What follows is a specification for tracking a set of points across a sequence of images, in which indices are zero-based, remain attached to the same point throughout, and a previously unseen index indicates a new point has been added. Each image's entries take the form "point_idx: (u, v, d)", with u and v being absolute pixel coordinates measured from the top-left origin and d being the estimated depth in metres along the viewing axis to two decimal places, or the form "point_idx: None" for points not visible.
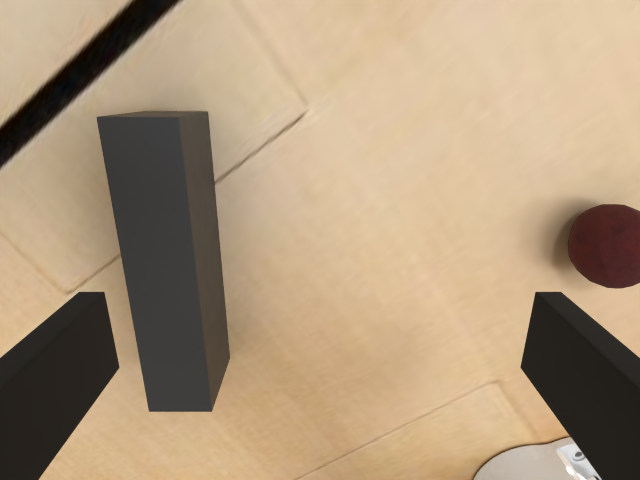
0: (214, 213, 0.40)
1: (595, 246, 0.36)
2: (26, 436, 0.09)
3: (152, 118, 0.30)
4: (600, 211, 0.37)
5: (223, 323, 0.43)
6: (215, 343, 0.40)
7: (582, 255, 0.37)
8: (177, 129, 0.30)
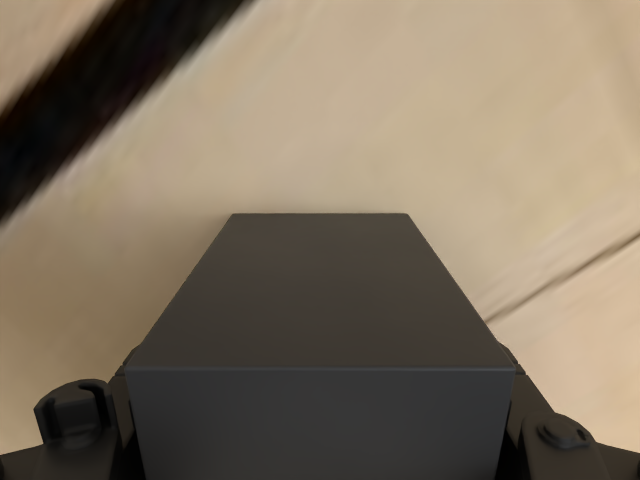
0: None
1: None
2: None
3: (390, 373, 0.06)
4: None
5: None
6: None
7: None
8: (497, 414, 0.06)
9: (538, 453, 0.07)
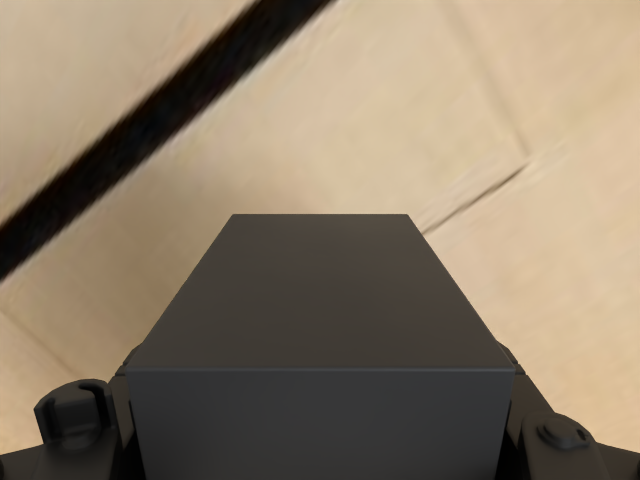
0: None
1: None
2: None
3: (390, 373, 0.06)
4: None
5: None
6: None
7: None
8: (497, 415, 0.06)
9: (538, 453, 0.07)
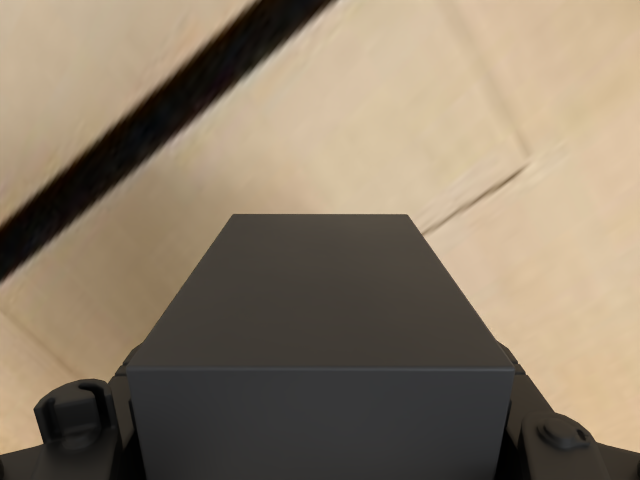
0: None
1: None
2: None
3: (390, 373, 0.06)
4: None
5: None
6: None
7: None
8: (496, 414, 0.06)
9: (538, 453, 0.07)
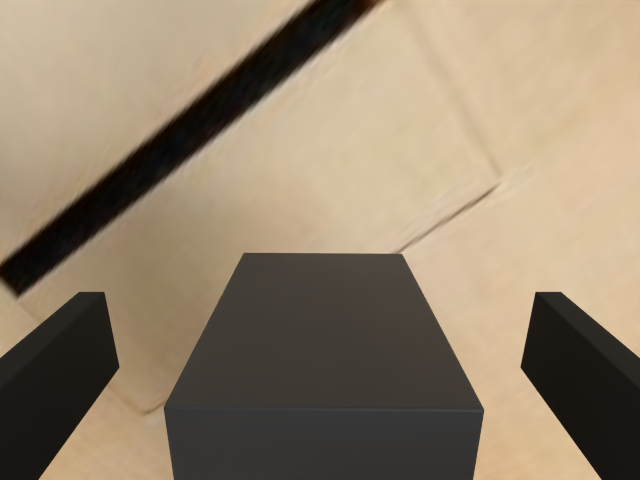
0: None
1: None
2: (26, 436, 0.09)
3: (381, 413, 0.08)
4: None
5: None
6: None
7: None
8: (469, 447, 0.08)
9: None
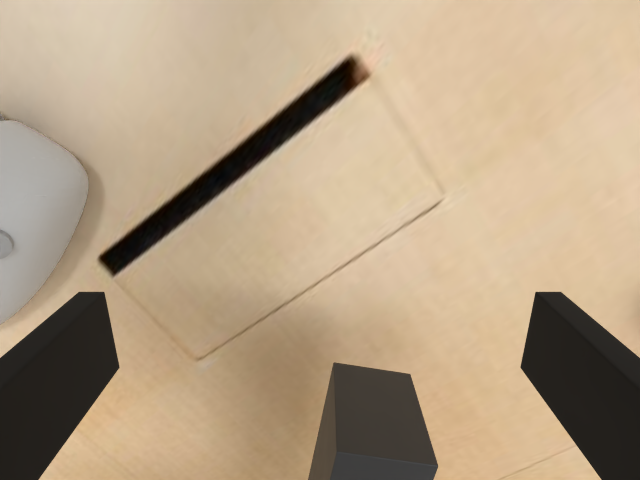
0: None
1: None
2: (26, 436, 0.09)
3: (405, 462, 0.23)
4: None
5: None
6: None
7: None
8: (431, 477, 0.24)
9: None
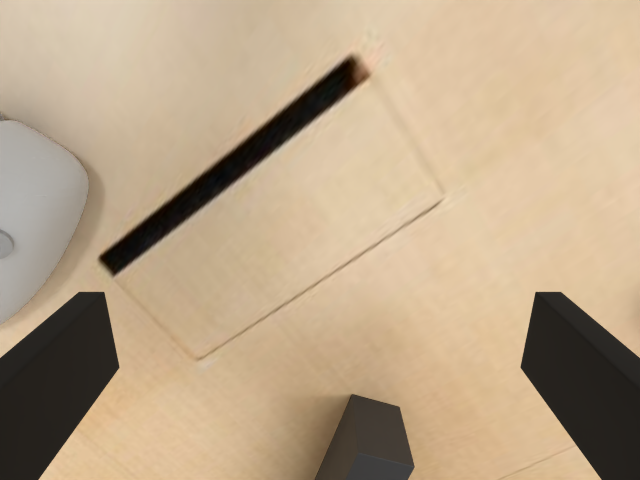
0: None
1: None
2: (26, 436, 0.09)
3: (396, 463, 0.40)
4: None
5: None
6: None
7: None
8: (409, 472, 0.41)
9: None
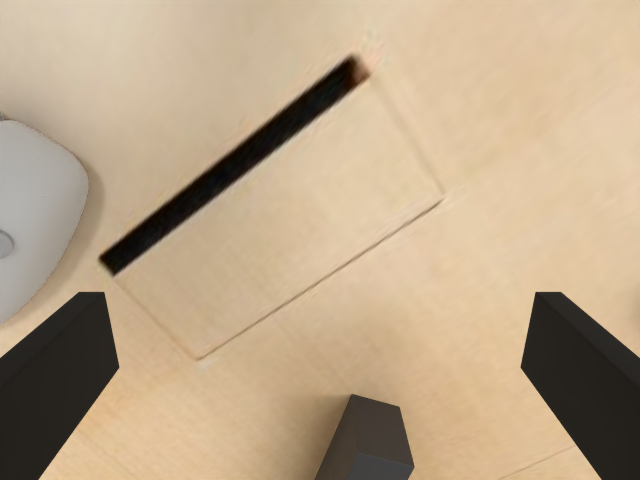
0: None
1: None
2: (26, 436, 0.09)
3: (396, 463, 0.40)
4: None
5: None
6: None
7: None
8: (409, 472, 0.41)
9: None
